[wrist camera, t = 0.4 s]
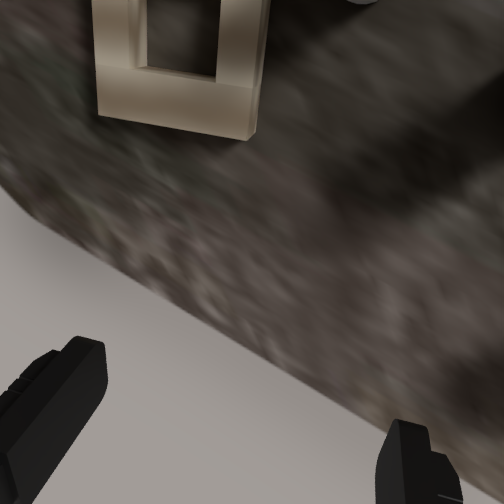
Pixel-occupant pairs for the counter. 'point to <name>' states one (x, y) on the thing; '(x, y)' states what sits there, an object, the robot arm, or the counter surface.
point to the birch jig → (178, 82)
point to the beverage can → (362, 1)
